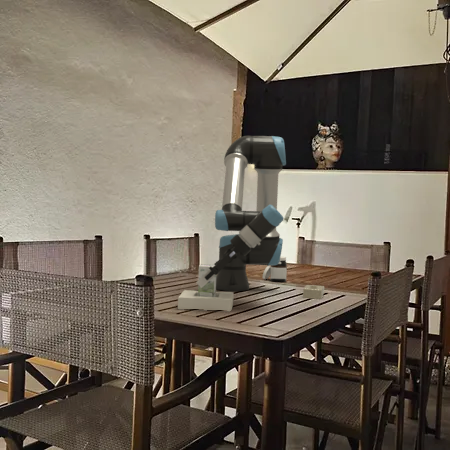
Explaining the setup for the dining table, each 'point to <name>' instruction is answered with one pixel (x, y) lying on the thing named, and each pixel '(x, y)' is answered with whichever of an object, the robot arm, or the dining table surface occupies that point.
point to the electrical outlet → (313, 292)
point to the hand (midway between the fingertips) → (200, 282)
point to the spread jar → (276, 271)
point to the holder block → (205, 301)
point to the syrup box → (210, 287)
